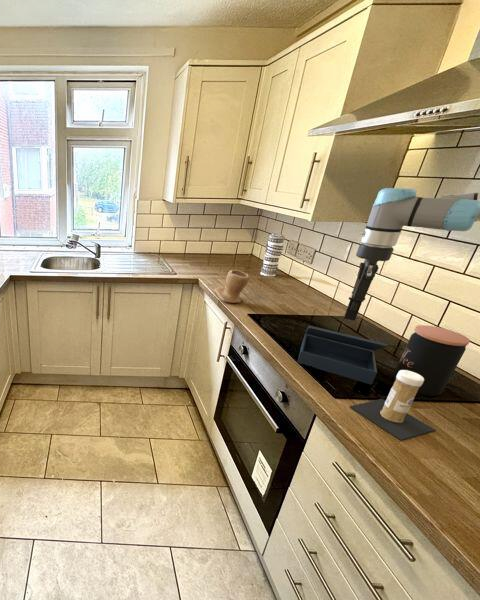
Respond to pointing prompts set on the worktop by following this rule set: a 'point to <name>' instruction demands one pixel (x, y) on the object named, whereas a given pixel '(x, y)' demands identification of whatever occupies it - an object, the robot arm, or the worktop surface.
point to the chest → (338, 358)
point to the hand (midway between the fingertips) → (349, 318)
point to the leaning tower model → (272, 255)
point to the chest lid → (345, 338)
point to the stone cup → (233, 286)
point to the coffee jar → (432, 357)
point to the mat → (398, 430)
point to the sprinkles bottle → (401, 395)
